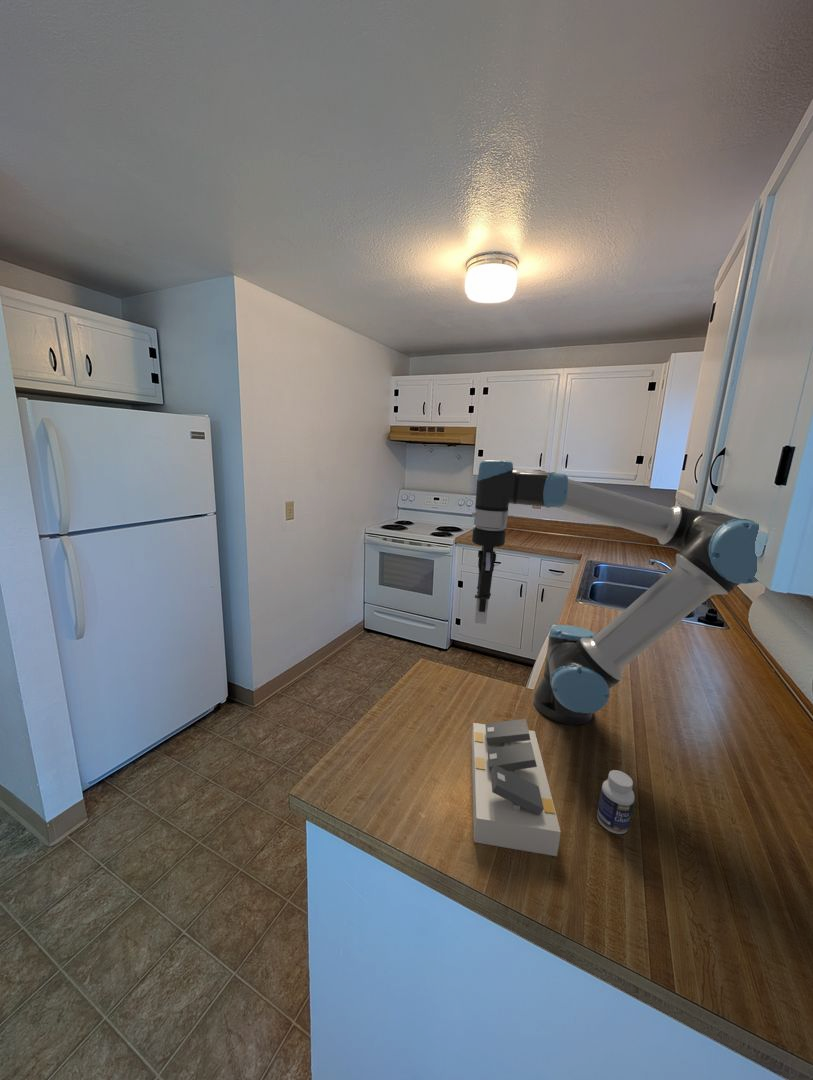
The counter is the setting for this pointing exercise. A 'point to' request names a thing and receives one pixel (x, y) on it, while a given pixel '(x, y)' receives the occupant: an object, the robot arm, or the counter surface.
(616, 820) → the pill bottle
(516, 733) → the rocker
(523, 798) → the block
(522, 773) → the switch unit
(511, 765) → the block
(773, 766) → the counter surface
